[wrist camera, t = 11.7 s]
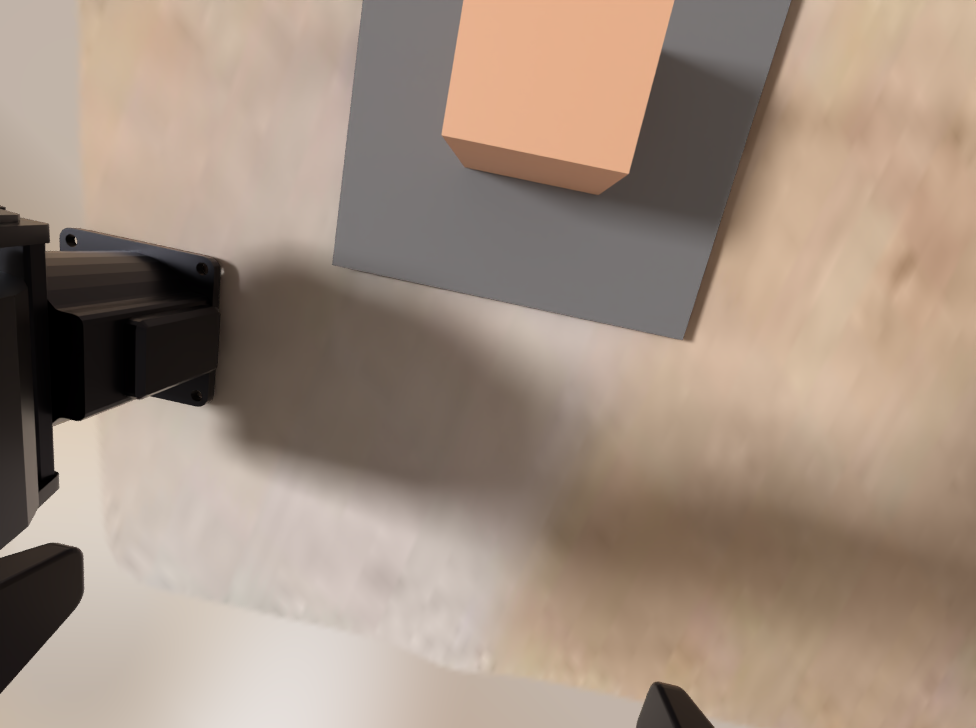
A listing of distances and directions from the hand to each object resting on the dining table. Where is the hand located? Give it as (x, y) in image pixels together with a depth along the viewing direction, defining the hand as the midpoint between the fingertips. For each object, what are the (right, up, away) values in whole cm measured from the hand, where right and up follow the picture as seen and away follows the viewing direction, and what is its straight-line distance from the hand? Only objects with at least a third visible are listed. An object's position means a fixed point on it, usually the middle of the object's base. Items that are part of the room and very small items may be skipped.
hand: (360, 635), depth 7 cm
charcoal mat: (+4, +13, +10) cm, 17 cm away
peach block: (+4, +13, +9) cm, 17 cm away
